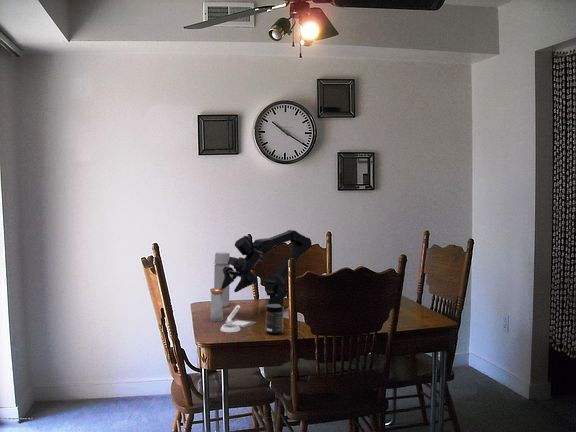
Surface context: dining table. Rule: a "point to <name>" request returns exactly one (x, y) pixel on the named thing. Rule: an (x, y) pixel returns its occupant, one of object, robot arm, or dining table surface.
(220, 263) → the water bottle
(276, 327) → the supplement container
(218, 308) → the clear copper-topped jar
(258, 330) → the dining table surface
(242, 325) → the pad
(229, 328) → the hook
